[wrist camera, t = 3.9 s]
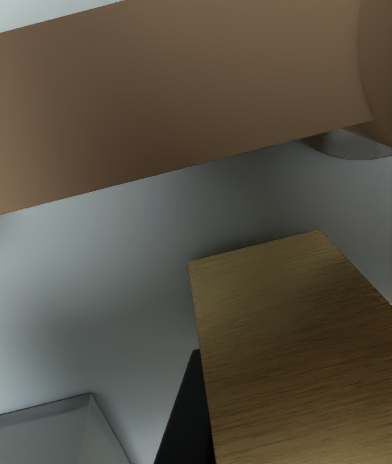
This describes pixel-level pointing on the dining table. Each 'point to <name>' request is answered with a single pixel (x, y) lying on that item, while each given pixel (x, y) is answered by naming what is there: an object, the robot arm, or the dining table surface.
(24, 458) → the tray
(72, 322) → the dining table surface
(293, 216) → the dining table surface
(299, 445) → the wooden block
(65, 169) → the crank
